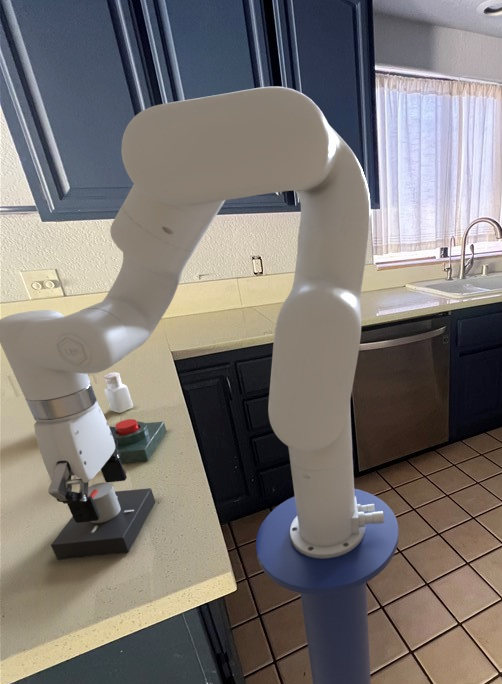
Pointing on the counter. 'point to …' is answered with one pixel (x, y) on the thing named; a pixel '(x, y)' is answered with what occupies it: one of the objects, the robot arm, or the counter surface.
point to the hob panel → (106, 529)
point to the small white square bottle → (117, 393)
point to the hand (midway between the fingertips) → (103, 499)
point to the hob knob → (104, 501)
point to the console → (140, 442)
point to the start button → (127, 427)
